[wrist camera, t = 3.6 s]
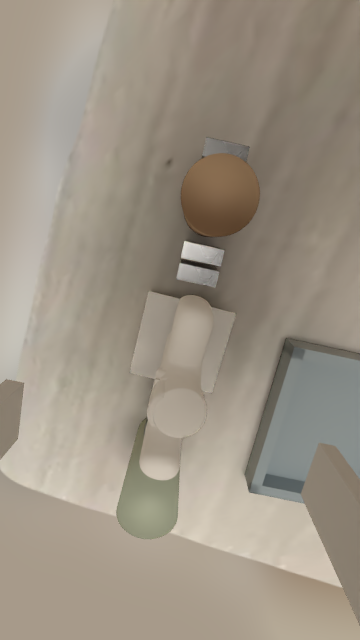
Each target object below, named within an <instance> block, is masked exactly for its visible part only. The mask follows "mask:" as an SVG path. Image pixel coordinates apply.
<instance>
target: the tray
mask: <svg viewBox="0 0 360 640" xmlns="http://www.w3.org/2000/svg"><path fill="white" fill-rule="evenodd" d="M319 443H323V444H328V445H333V446H336V447H337V449H338V450H339V451H340V453H341V454H342V456H343V457H344V458H345V460H346V461H347V462H348V464H349V465H350V467H351V468H352V469H353V471H354V472H355V473H356V475H357V476H358V478H359V479H360V354H358V353H353V352H348V351H344V350H339V349H334V348H330V347H325V346H320V345H316V344H311V343H307V342H302V341H297V340H293V339H288V338H286V341H285V345H284V348H283V351H282V354H281V358H280V361H279V364H278V368H277V371H276V374H275V377H274V381H273V384H272V387H271V390H270V394H269V397H268V400H267V404H266V407H265V410H264V413H263V417H262V420H261V423H260V426H259V430H258V433H257V436H256V440H255V443H254V446H253V449H252V453H251V456H250V459H249V463H248V466H247V469H246V472H245V477H246V481H247V486H248V490H249V492H250V493H255V494H260V495H265V496H270V497H275V498H280V499H284V500H289V501H294V502H299V503H304V501H303V498H302V496H301V492H302V489H303V486H304V483H305V481H306V478H307V475H308V472H309V469H310V466H311V464H312V461H313V458H314V455H315V452H316V449H317V447H318V444H319ZM304 504H305V503H304Z"/></svg>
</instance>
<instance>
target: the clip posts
mask: <svg viewBox="0 0 360 640" xmlns="http://www.w3.org/2000/svg"><path fill="white" fill-rule="evenodd" d="M249 148H250V147H249V146H244V145H240V144H236V143H231V142H227V141H222V140H218V139H214V138H209V137H206V141H205V146H204V150H203V155H202V158H204V157H206V156H208V155H212V154H217V153H226V154H231V155H235V156H237V157H239V158H241V159H242V160H244V161H245V162H246V160H247V156H248V152H249ZM224 251H225V250H223V249H220V248H216V247H212V246H207V245H203V244H198V243H194V242H189V241H184V245H183V250H182V254H181V258H184V259H189V260H193V261H198V262H203V263H207V264H212V265H216V266H221V263H222V259H223V255H224ZM184 259H181V261H180V264H179V269H178V273H177V278H176V279H178V280H183V281H187V282H192V283H196V284H201V285H206V286H210V287H215V288H216V284H217V280H218V276H219V271H218V270H217V268H216V267H215V266H211V265H207V264H202V263H198V262H193V261H189V260H184ZM147 421H148V418H147V420H146V425H147ZM146 425H145V429H146ZM145 429H144V434H145ZM144 434H143V435H144Z"/></svg>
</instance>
